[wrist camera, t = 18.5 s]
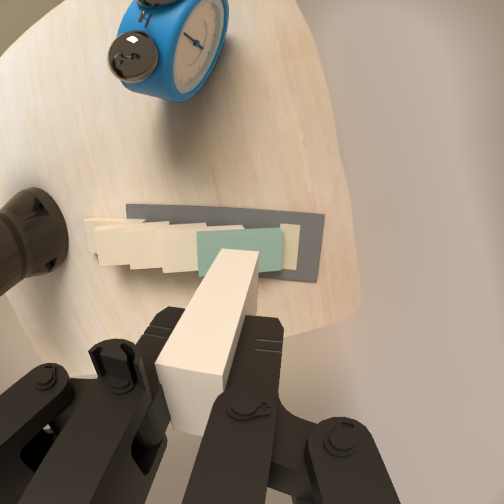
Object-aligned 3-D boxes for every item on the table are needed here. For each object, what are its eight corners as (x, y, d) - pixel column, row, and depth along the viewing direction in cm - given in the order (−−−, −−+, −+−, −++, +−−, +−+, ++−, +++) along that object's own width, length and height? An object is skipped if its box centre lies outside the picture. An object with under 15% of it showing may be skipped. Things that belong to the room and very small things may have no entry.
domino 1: (149, 253, 40) (94, 248, 41) (145, 219, 38) (89, 217, 39) (144, 258, 39) (88, 252, 40) (140, 223, 37) (83, 220, 38)
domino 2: (172, 256, 40) (102, 261, 37) (169, 221, 38) (96, 226, 35) (171, 261, 38) (99, 266, 36) (169, 224, 36) (93, 230, 34)
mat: (133, 263, 42) (132, 264, 41) (126, 204, 38) (125, 204, 38) (316, 280, 39) (316, 281, 38) (324, 214, 35) (324, 215, 35)
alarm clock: (200, 107, 32) (140, 96, 18) (156, 95, 32) (81, 84, 18) (239, 14, 27) (204, -46, 13) (193, 6, 27) (139, -47, 13)
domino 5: (283, 231, 35) (196, 236, 33) (281, 270, 37) (198, 276, 35) (279, 227, 36) (196, 231, 34) (277, 264, 38) (197, 270, 36)
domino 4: (241, 261, 39) (163, 267, 37) (242, 224, 37) (159, 229, 35) (244, 267, 37) (163, 272, 35) (244, 228, 35) (159, 233, 33)
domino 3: (206, 259, 39) (132, 264, 37) (205, 222, 37) (127, 227, 35) (208, 264, 38) (130, 269, 36) (206, 226, 36) (125, 232, 34)
